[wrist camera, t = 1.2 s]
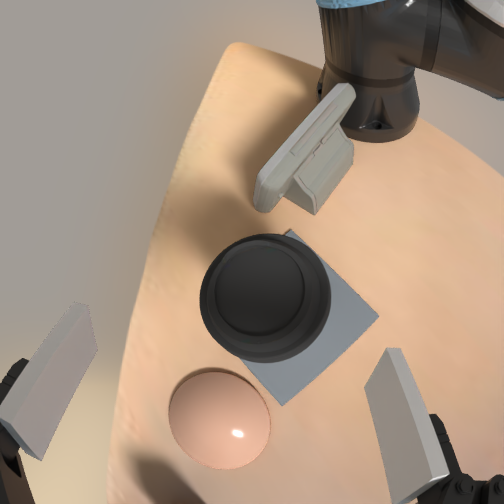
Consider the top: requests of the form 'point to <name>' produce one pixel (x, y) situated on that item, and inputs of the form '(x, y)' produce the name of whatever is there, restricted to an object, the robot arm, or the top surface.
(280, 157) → the digital clock
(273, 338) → the coffee cup
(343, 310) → the blue gray square tile
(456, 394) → the top surface
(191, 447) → the terracotta coaster
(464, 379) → the top surface
